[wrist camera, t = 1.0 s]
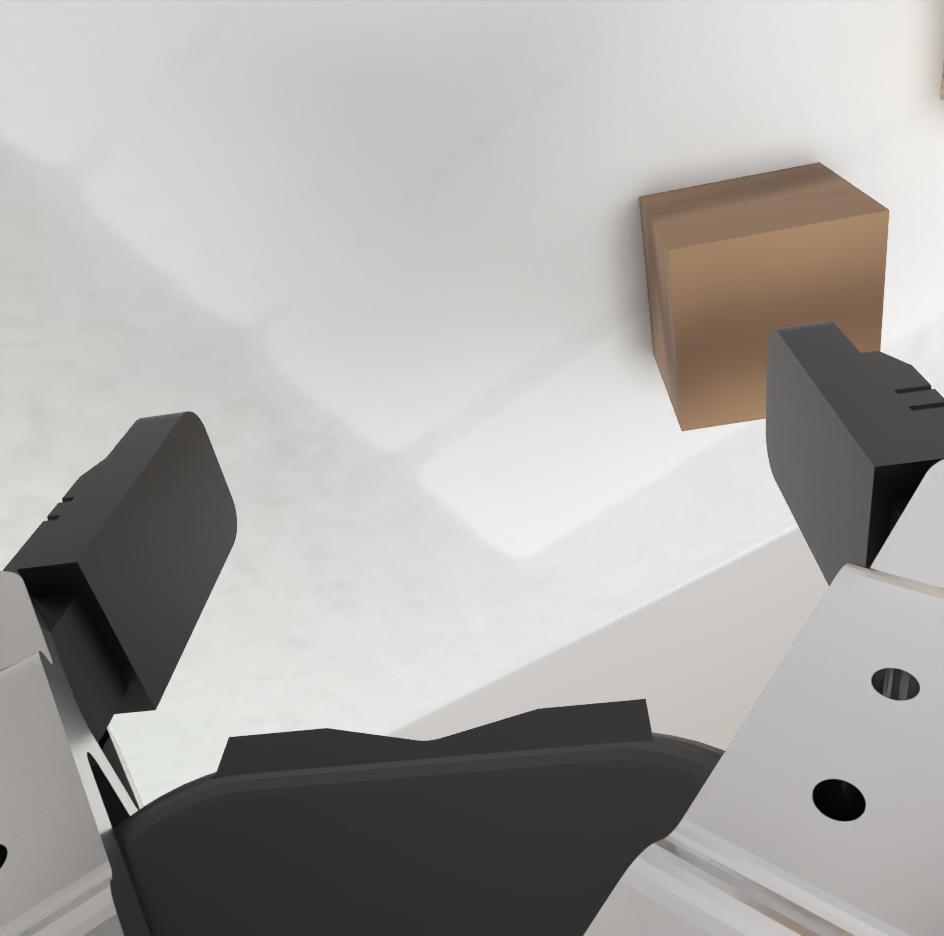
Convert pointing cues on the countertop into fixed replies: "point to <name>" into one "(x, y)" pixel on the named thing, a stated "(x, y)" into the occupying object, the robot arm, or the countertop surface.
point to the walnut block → (756, 280)
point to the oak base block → (943, 87)
